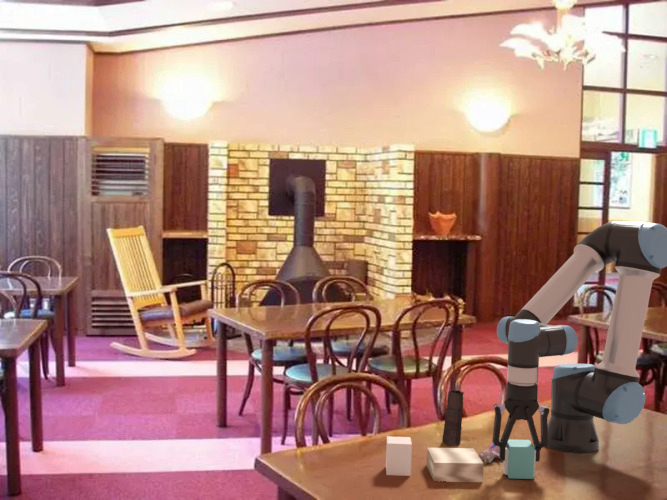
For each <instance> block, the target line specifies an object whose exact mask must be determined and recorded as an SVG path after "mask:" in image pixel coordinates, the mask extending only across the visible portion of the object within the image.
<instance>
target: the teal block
mask: <svg viewBox="0 0 667 500" xmlns="http://www.w3.org/2000/svg"><path fill="white" fill-rule="evenodd" d="M506 446H507V447H508V449H509V455H508V475H506V476H507V478H508V479H519V480H521V479H522V480H523V479H524V480H533V479H534V476H533V474H534V444H533V442H531V439H510V438H509V440H508V442H507V445H506Z"/></svg>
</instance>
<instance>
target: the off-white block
mask: <svg viewBox="0 0 667 500" xmlns="http://www.w3.org/2000/svg"><path fill="white" fill-rule="evenodd" d="M411 438H412V437H409V436H390V435H389V436H388V435H387V436H386V445H385V446H386V453H385V473H386V474H385V475H386V476H401V477H402V476H404V477H405V476H406V477H411V475H412V455H413V454H412V449H413V446H412V445H413V444H412V439H411Z"/></svg>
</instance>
